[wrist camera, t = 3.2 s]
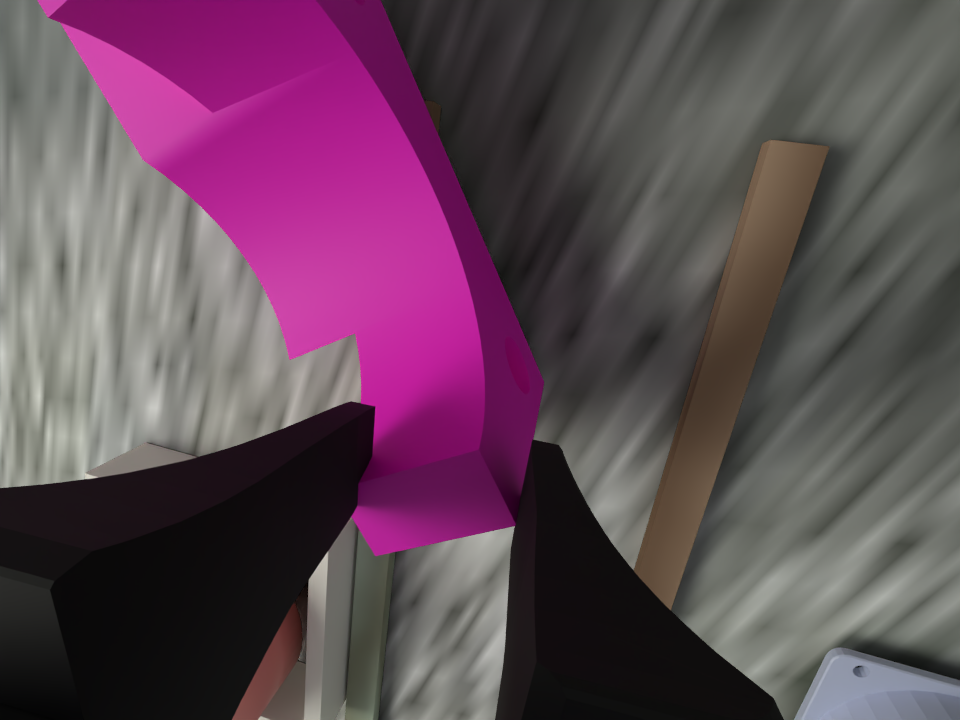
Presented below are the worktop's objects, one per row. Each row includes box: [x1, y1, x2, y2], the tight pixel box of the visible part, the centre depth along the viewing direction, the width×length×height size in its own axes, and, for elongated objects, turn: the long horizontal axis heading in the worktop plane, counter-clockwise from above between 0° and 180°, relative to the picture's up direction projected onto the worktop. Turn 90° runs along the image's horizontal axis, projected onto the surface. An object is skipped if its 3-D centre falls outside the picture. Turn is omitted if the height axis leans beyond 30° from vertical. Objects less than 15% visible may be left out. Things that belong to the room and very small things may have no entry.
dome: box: [232, 602, 303, 720], centre depth 21 cm, size 9×9×6 cm
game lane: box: [345, 100, 830, 720], centre depth 20 cm, size 13×34×1 cm, turn 172°
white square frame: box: [85, 443, 359, 720], centre depth 23 cm, size 12×12×3 cm
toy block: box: [38, 0, 544, 556], centre depth 13 cm, size 15×6×8 cm, turn 23°
